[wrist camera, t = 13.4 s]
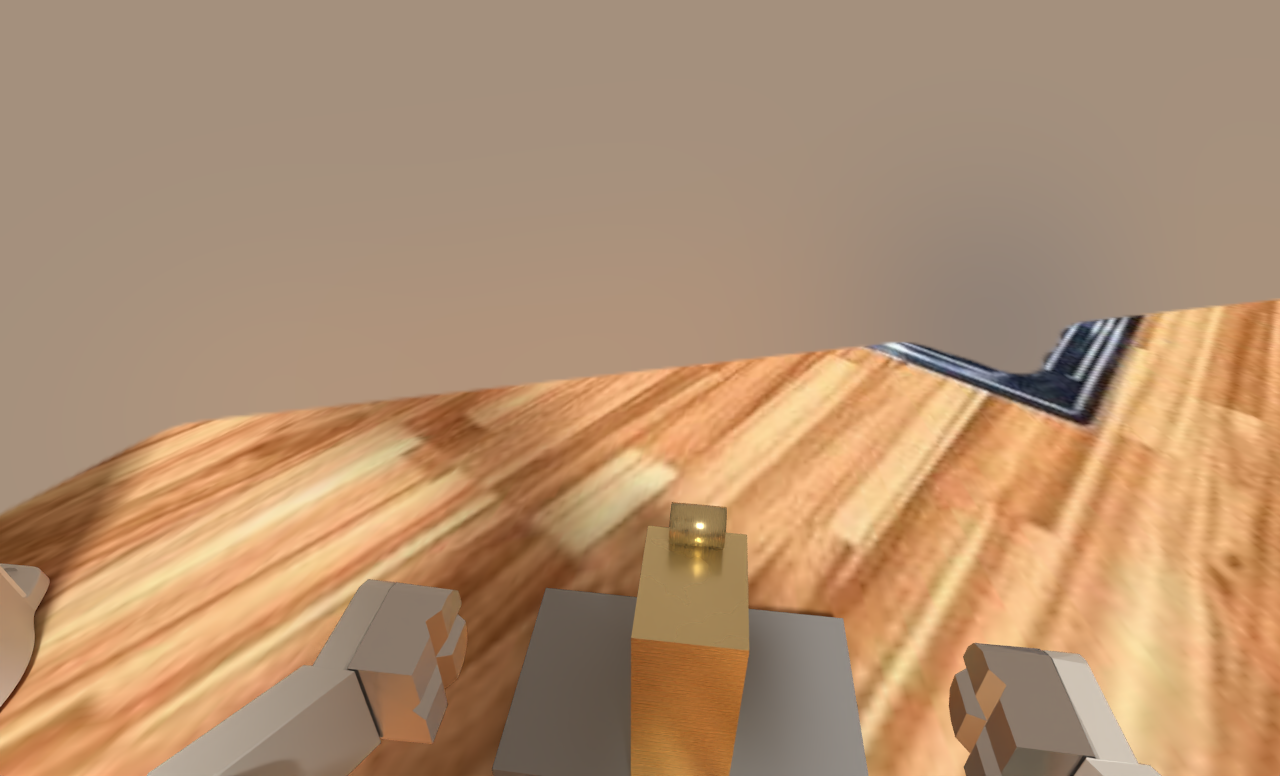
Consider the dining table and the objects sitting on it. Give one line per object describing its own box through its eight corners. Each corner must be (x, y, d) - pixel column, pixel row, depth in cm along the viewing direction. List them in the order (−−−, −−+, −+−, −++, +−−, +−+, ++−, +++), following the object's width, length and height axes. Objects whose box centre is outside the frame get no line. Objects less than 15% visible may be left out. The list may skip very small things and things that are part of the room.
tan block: (630, 783, 32) (631, 607, 24) (645, 665, 37) (649, 491, 30) (726, 795, 31) (754, 619, 24) (727, 674, 36) (750, 500, 29)
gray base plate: (494, 781, 33) (467, 657, 27) (547, 600, 42) (534, 480, 36) (870, 831, 31) (921, 709, 25) (839, 631, 40) (872, 509, 35)
